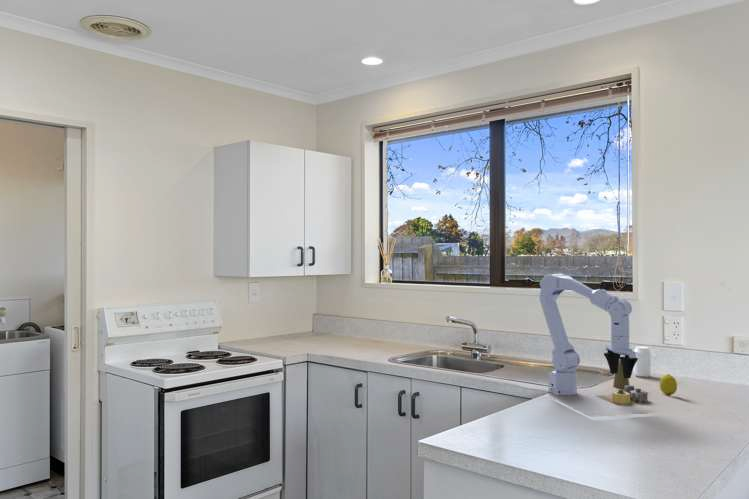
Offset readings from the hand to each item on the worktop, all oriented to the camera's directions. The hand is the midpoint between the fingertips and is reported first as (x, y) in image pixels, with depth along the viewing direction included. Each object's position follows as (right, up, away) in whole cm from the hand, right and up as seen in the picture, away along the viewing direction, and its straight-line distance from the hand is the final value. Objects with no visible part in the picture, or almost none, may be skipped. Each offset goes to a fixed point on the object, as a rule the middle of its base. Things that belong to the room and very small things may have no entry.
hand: (620, 375), depth 203 cm
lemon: (+21, -10, +11) cm, 26 cm away
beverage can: (+27, -10, +44) cm, 53 cm away
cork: (+9, -10, +22) cm, 26 cm away
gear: (0, -9, 0) cm, 9 cm away
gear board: (+2, -10, +3) cm, 11 cm away
